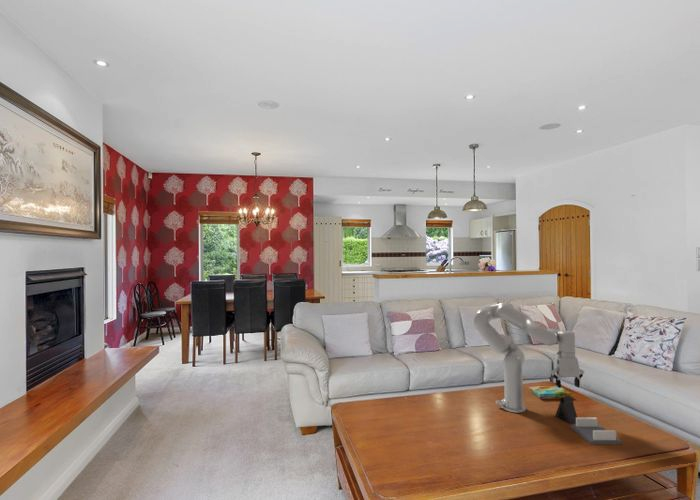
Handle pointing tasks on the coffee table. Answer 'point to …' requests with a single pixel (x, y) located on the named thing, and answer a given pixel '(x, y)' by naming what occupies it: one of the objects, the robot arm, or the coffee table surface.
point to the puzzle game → (549, 392)
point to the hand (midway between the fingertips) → (567, 386)
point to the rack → (595, 432)
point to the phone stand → (566, 410)
